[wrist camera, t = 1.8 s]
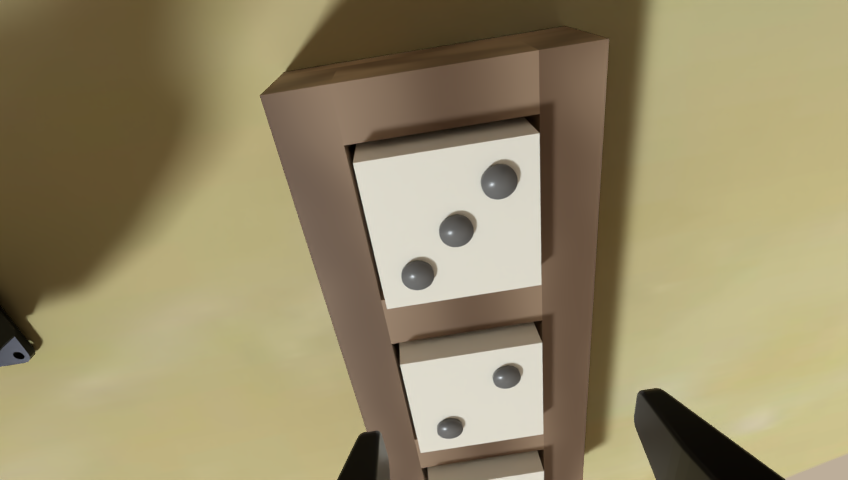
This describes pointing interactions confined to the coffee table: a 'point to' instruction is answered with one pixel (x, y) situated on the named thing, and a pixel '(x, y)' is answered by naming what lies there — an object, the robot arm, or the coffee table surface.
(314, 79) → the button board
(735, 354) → the coffee table surface
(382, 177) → the three dot tile
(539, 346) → the two dot tile
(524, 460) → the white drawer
